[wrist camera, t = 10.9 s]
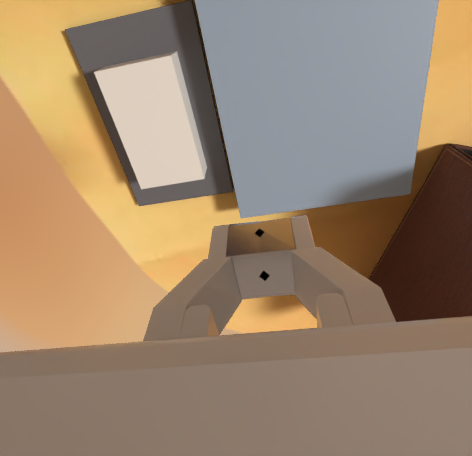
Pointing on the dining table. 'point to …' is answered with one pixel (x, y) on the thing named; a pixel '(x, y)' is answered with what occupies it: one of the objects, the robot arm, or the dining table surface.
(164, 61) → the tile
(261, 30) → the panel
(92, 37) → the mat
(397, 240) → the letter holder
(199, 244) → the dining table surface
